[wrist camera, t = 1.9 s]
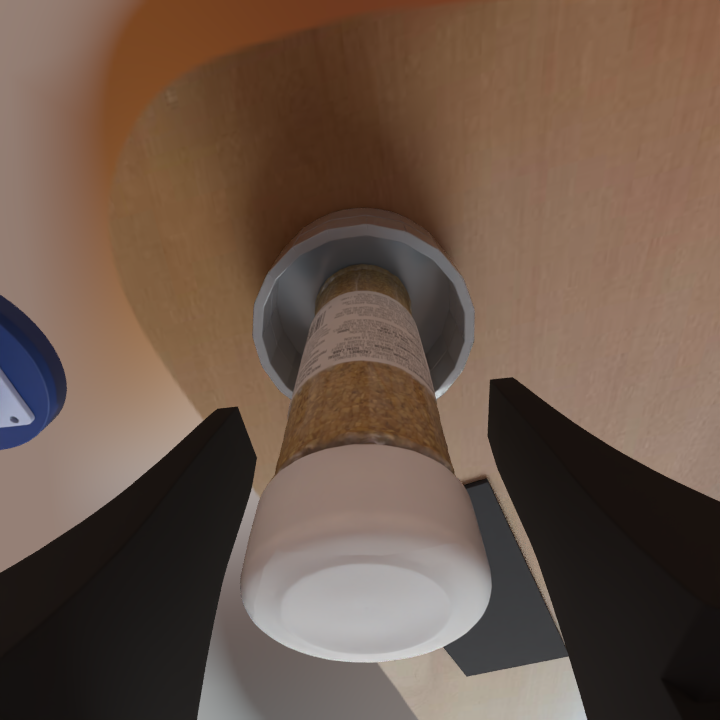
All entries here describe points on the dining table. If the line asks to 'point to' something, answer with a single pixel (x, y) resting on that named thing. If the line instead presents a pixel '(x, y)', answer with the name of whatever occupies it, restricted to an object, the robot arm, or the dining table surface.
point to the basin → (372, 247)
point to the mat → (505, 602)
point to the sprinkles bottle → (364, 494)
